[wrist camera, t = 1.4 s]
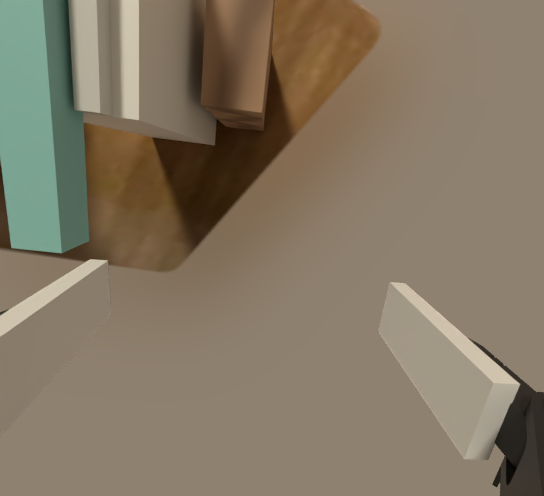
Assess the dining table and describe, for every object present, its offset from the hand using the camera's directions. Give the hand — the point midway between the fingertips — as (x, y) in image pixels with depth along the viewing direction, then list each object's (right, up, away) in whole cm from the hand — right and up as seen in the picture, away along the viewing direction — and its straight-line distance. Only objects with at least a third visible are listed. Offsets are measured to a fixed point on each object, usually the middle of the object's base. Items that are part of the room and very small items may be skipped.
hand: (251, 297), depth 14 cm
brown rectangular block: (-3, +27, +32) cm, 42 cm away
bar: (-12, +15, +4) cm, 19 cm away
